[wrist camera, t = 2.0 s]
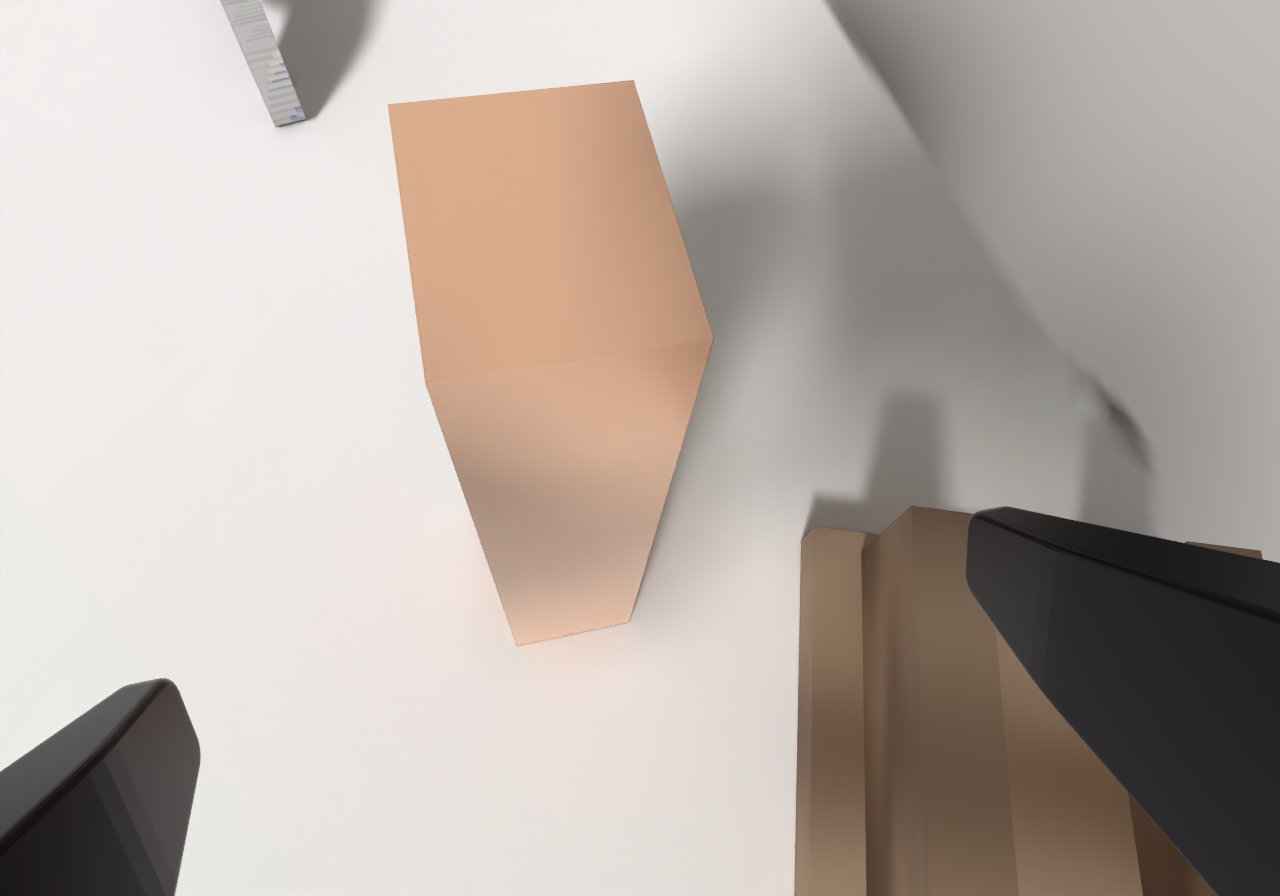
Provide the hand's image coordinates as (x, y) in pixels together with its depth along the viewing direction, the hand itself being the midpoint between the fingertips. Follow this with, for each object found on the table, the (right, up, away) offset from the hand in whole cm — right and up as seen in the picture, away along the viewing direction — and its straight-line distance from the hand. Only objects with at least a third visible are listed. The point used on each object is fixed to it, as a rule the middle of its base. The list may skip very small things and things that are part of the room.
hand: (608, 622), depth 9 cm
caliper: (-15, +21, +20) cm, 33 cm away
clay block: (-2, -1, +11) cm, 11 cm away
